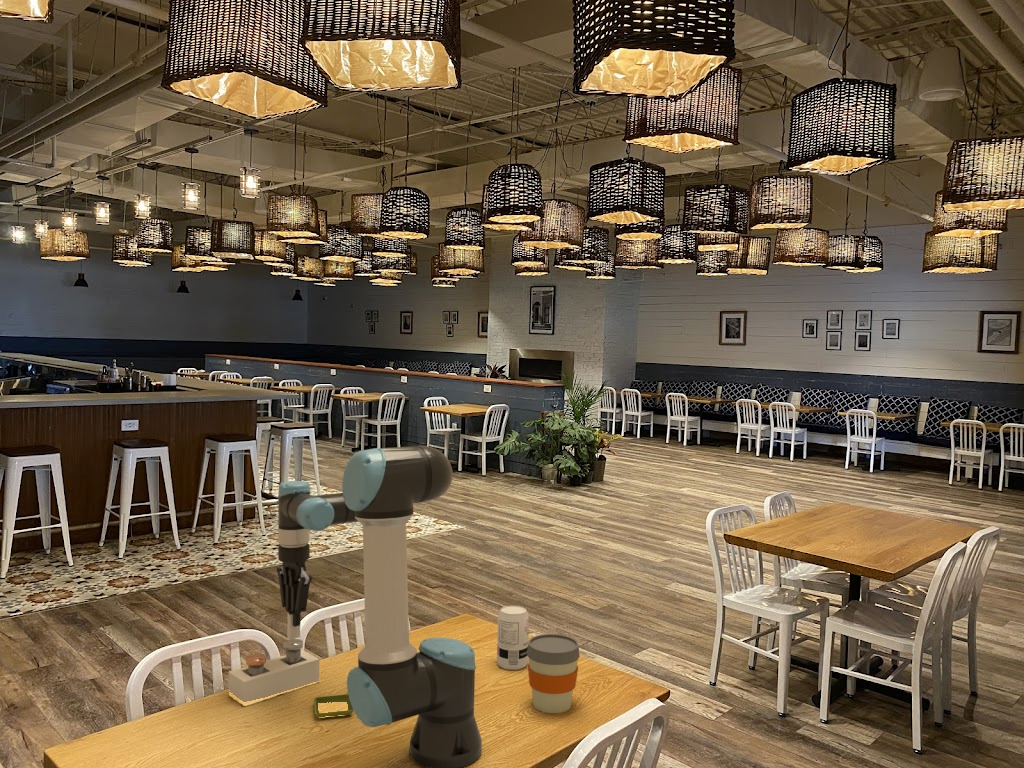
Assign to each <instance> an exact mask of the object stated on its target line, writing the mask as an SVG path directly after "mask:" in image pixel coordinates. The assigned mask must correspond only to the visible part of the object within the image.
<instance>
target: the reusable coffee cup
mask: <svg viewBox="0 0 1024 768" xmlns="http://www.w3.org/2000/svg"><path fill="white" fill-rule="evenodd" d="M579 645H580V643H579V642H578V640H576V639H575V638H573V637H570V636H568V635H564V634H557V633H545V634H538V635H534V636H533V637H531V638H530V639H528V649H527V656H528V663H527V672H528V681H529V686H530V687H531V694H532V705H533V707H534V708H535V709H536V710H538V711H539V712H541V713H546V714H562V713H564V712H567V711H569V710H570V709H571V705H572V700H573V699H572V698H573V693H574V689H576V688H575V687H576V685H577V679H578V671H579V665H578V661H579V658H580V646H579Z"/></svg>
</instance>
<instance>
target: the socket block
mask: <svg viewBox="0 0 1024 768" xmlns="http://www.w3.org/2000/svg"><path fill="white" fill-rule="evenodd" d="M227 678H228V683H227V684H228V686H227V687H228V690H230V691H229V692H231V693H233V695H235V696H236V697H237V698H239V699H240V700H242V701H243V702H247V701H252V700H256V699H260V698H265V697H268V696H271V695H274V694H277V693H281V692H284V691H287V690H291V689H294V688H298V687H301V686H304V685H307V684H310V683H313V682H317V681H319V682H320V659H319V658H318V657H316V656H314V655H313V654H311V653H309V652H307V651H305V650H303V649H301V662H299V663H296V664H293V665H288V664H286V654H285V655H281V656H277V657H274V658H271V659H266V663H265V664H264V673H263V674H259V675H256V676H253V677H251V676H249V675H248V665H246V666H243V667H240V668H236V669H233V670H230V671H228V677H227Z"/></svg>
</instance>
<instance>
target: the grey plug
mask: <svg viewBox="0 0 1024 768" xmlns="http://www.w3.org/2000/svg"><path fill="white" fill-rule="evenodd" d="M303 645H304V641H303V640H302V639H299V638H296V639H292V640H290V639H287V640H285V641H284V642H283V649H284V650H285V655H286V664H288V665H293V664H296V663H299V662H301V650H302V648H303V647H304V646H303Z"/></svg>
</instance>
